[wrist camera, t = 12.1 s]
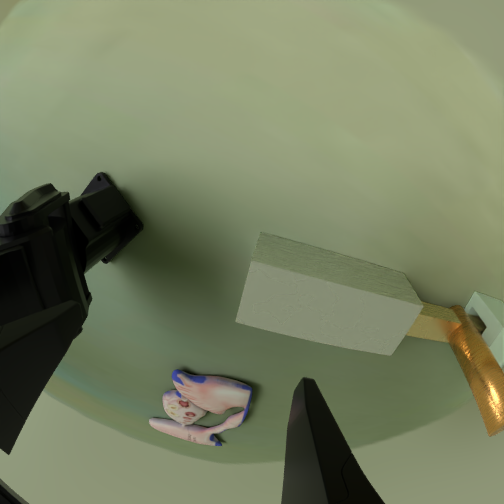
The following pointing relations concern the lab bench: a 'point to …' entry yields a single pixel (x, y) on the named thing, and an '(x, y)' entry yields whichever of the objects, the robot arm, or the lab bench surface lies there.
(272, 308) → the aluminium sleeve
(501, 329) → the green socket
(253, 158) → the lab bench surface
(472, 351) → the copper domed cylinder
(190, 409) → the anatomical model
